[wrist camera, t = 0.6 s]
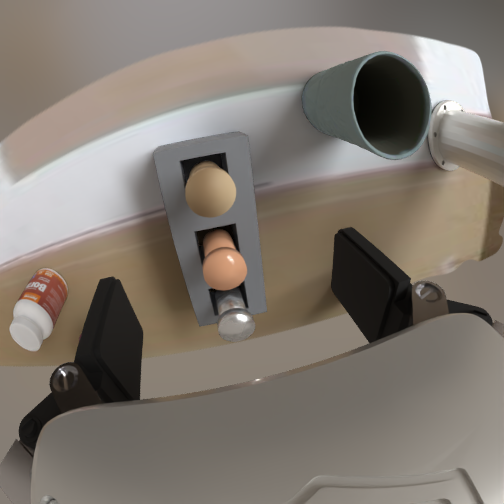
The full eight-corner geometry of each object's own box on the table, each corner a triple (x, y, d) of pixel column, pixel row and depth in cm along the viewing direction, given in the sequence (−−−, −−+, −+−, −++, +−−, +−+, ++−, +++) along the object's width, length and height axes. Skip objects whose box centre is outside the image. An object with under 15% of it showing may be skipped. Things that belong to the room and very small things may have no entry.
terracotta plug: (232, 222, 29) (244, 249, 24) (237, 254, 31) (249, 285, 26) (195, 229, 29) (199, 258, 23) (203, 261, 31) (208, 294, 26)
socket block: (238, 131, 28) (247, 135, 24) (257, 289, 40) (266, 311, 36) (158, 146, 27) (153, 153, 23) (196, 302, 38) (199, 326, 34)
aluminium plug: (241, 278, 33) (253, 311, 28) (245, 303, 35) (256, 336, 30) (209, 286, 32) (215, 320, 27) (215, 310, 34) (222, 344, 29)
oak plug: (222, 153, 25) (232, 164, 20) (228, 191, 27) (239, 212, 22) (182, 160, 25) (180, 174, 20) (189, 199, 27) (190, 222, 22)
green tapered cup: (321, 154, 32) (381, 180, 22) (277, 86, 27) (328, 78, 16) (376, 115, 31) (443, 129, 20) (340, 50, 25) (406, 38, 15)
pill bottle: (56, 261, 30) (25, 314, 21) (75, 296, 33) (54, 353, 24) (28, 272, 29) (-4, 322, 20) (47, 304, 33) (24, 357, 23)
